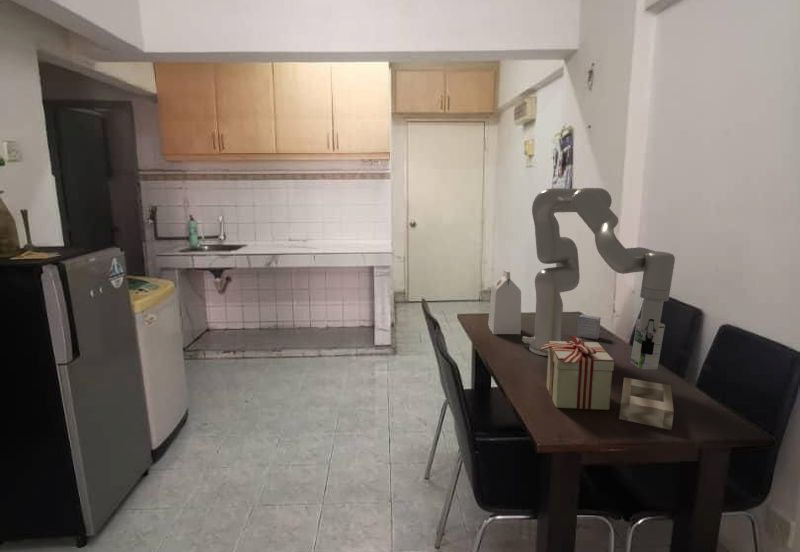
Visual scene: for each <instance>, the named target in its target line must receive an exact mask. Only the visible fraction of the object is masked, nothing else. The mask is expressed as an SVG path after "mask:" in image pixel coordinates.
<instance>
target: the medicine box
mask: <svg viewBox="0 0 800 552" xmlns="http://www.w3.org/2000/svg"><path fill="white" fill-rule="evenodd" d="M600 328H601V316H595V315H589V314H580V315H579V316H578V321H577V333H576V335H577V336H576V337H577V338H585V339H590V340H591V339H593V340H598V339H599V337H600V331H601V330H600Z"/></svg>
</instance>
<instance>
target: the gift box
mask: <svg viewBox="0 0 800 552" xmlns="http://www.w3.org/2000/svg"><path fill="white" fill-rule="evenodd" d="M569 338H570V339H573V340H569V341H568V340H567V341H566V340H565V341H563V340H560V341H548V343H546V344H545V345H544V346H543V347H542V348H541V349H539V350H544V349H547V351H548V356H547V370H546V372H547V373H546V385H545V386H546V388H547V392H548V395H549V396H550V398H551V401H552V402H553V405H554V406H555V408H556V409H572V410H573V409H575V410H576V409H577V410H593V411H594V410H596V411H597V410H598V411H599V410H600V411H610V402H611V390H612V389H611V388H612V379H613V378H612V377H613V372H614V369H615V360H614V359H613V357H611V355H610V354H609V353H608V352H607V351H606V349H604V347H602V345H600V343H599V342H597V341H596V342H595V341H584V340H583V339H581V338H580V337H577V336H574V335H570V336H569Z"/></svg>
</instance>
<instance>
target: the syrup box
mask: <svg viewBox="0 0 800 552" xmlns="http://www.w3.org/2000/svg"><path fill="white" fill-rule="evenodd" d="M639 325H640V318H637V320H636V324H635V331H634V338H633V344H632V348H631V349H632V350H631V354H630V355H631V357H630V363H631V364H632V365H634V366H635V367H637V368H638V369H639V370H658V368H659V362H660V357H661V351H662V344H663V339H664V332H665V328H666V324H664V323H662V322H660V324H659V328H658V332H657V333H656V334H655V336H654V349H653V354H652V355H649V354H643V353H641V345H642V340H643V338H644V331H640V330H639ZM648 325H649V322H648ZM646 330H647V331H648V326H647V327H646ZM655 330H656V329H655ZM653 331H654V330H653ZM646 334H648V333H646ZM652 335H653V334H652Z"/></svg>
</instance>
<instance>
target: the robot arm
mask: <svg viewBox="0 0 800 552" xmlns="http://www.w3.org/2000/svg"><path fill="white" fill-rule="evenodd" d="M611 206H612V196H611V194H610V193H609V192H608V191H607V190H606V189H605V188H602V187H583V188H568V187H567V188H563V187H561V188H560V187H553V188H546V189H543V190H541V191H540V192H539V193H538V194H537V195H536V196H535V198H534V199H533V201H532V206H531V214H532V215H531V216H532V219H533V224H534V233H535V234H534V235H535V248H536V257H537V259H538V261H539V262H540V263H541V264H544V265H551V264H554V265H555V267H554V266H552V267H545V268H543V269H541V270H540V271H538V272H537V273H536V275H535V277H534V288H535V317H534V332H533V334H534V335H533V336H531V337H529V336H524V335H523V336H522V339H521V341H522V342H523V343H524V344H529V346H528V350H529V351H530V352H531V353H533V354H535V355H538V356H544V357H548V351H547V349H544V350H539V349H541V348H542V347H543V346H544V345H545V344H546V343H548V341H562V340H561V338H562V337H561V336H562V327H563V325H562V324H563V313H564V312H563V311H564V303H563V300H562V296H561V293H566V292H570V291H573V290H575V289H576V288H577V287H578V285H579V284H580V275H581V274H580V262H579V253H578V252H579V251H578V246H577V245H576V244H577V243H575V242H574V240H573V239H572V238H569V237H567V236H561V232H560V224H559V221H558V219H557V218H556V216H555V214H556V213H576V214H577V215H578V216H579V217H580V218H581V219H582V221H583V222H584V224H585V225H586V226H587V227H588V228H589V230H590V231H591V232H592V233H593V234H594V235H593V236H594V243H595V247H596V250H597V252H598V254H599V255H600V257H601V258H602V259H603V261H604V262H605V263H606V264H607V265H608V267H610V269H612V270H613V271H614V272H615V273H617V274H621V275H624V274H625V275H626V274H631V273H642V280H641V288H640V295H639V297H640V298H641V299H642V304H641V312H640V317H639V319H640V325H639V330H640V331H644V338H643V340H642V345H641V353H643V354H649V355H652V354H653V349H654V336H655V334H656V333H657V332H658V328H659V324H660V323H661V319H662V314H663V309H664V308H663V307H664V302H668V301H669V299H670V294H671V286H672V280H673V275H674V274H673V273H674V268H675V262H676V258H675V257H676V256H675V255H674V253H673V254H672V253H670V252H667V251H666V252H665V251H655V250H651V249H649V248H646V247H642V246H641V247H638V246H637V247H628V248H625V246H624V245H623V244H622V243H621V242H620V240H619V239H618V238H617V236H616V234H615V231H614V229H616V226H617V225H618V224H619V217H618V216H617V215H616V214H615V213H614V211H613V210H612V209H611ZM648 322H649V325H648ZM647 326H648V331H647V330H646V327H647ZM655 329H656V330H655ZM653 330H654V331H653ZM646 333H648V334H646ZM652 334H653V335H652Z"/></svg>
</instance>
